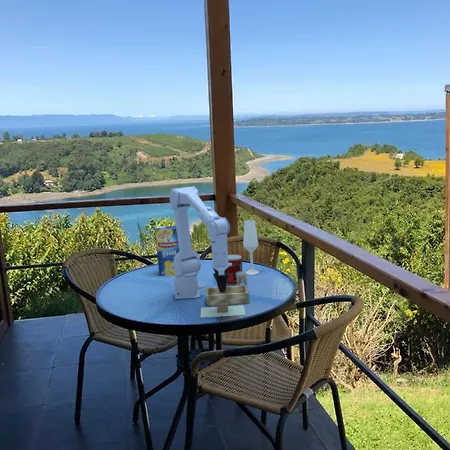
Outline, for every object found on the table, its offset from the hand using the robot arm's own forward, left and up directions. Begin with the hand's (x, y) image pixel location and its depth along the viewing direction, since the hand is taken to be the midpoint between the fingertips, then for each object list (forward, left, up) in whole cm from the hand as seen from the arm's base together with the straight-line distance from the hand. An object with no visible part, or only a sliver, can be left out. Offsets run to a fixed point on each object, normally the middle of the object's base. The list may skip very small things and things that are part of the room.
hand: (222, 288), depth 184 cm
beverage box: (-23, +57, -9) cm, 62 cm away
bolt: (+8, +22, -3) cm, 24 cm away
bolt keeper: (+9, +22, -9) cm, 25 cm away
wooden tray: (+2, +12, -9) cm, 15 cm away
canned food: (+6, +37, -9) cm, 38 cm away
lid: (0, 0, -9) cm, 9 cm away
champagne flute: (+15, +49, -9) cm, 52 cm away
